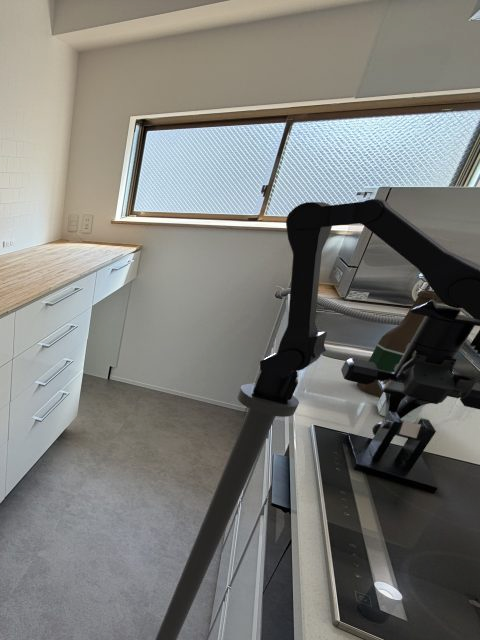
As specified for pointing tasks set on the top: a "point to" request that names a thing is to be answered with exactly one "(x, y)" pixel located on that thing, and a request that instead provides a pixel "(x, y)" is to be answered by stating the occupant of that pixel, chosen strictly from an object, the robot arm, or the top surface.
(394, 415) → the black two-post stand
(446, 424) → the top surface
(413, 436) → the lever
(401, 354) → the beer bottle
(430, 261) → the robot arm
